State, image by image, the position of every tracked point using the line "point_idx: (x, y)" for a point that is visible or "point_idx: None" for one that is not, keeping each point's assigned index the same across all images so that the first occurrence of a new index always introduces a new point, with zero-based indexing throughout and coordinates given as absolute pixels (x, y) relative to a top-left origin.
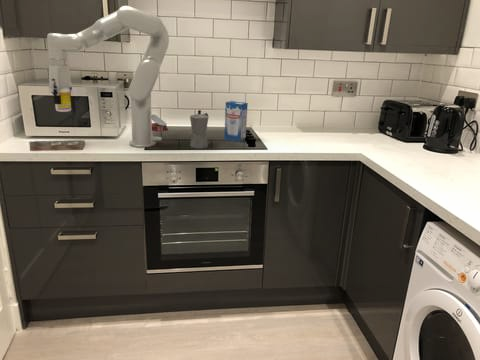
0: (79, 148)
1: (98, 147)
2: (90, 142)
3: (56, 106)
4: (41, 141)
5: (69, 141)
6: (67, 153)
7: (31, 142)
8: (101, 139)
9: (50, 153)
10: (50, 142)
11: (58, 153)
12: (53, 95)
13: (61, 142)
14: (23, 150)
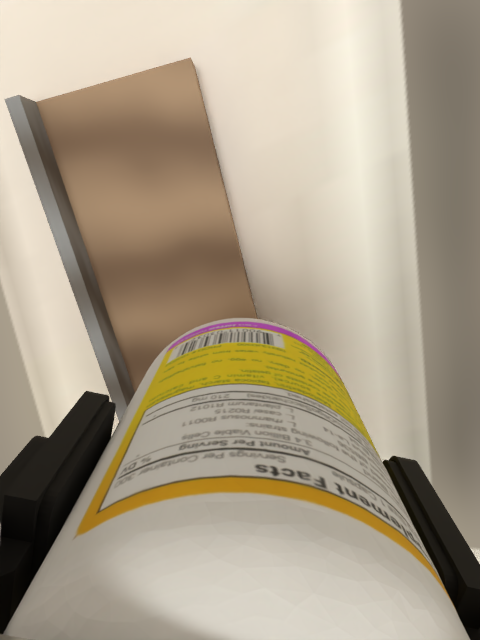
0: None
1: None
2: None
3: (142, 382)
4: (47, 192)
5: (107, 385)
6: (40, 375)
7: (14, 118)
8: (418, 459)
9: (13, 278)
10: (64, 259)
11: (26, 325)
12: (10, 488)
13: (90, 332)
14: (34, 55)
